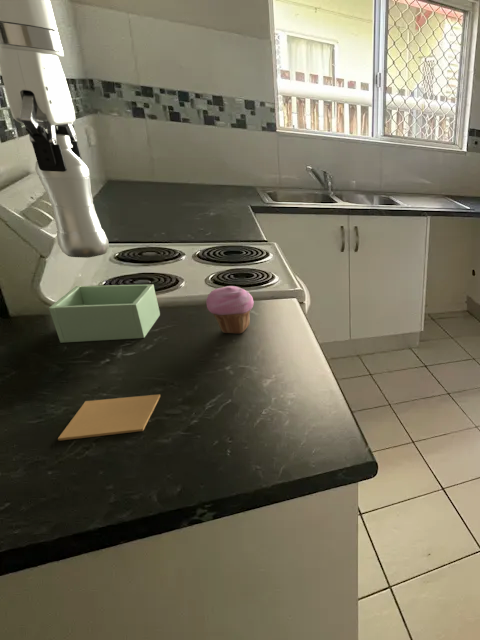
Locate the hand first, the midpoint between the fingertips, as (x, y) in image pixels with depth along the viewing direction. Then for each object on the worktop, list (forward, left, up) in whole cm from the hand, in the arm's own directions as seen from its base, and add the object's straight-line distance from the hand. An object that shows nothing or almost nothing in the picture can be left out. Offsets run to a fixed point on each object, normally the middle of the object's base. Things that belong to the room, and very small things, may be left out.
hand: (62, 167), depth 78 cm
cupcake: (+20, +6, -34) cm, 40 cm away
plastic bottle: (0, 0, -15) cm, 15 cm away
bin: (-3, +11, -34) cm, 35 cm away
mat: (+7, -25, -34) cm, 42 cm away
